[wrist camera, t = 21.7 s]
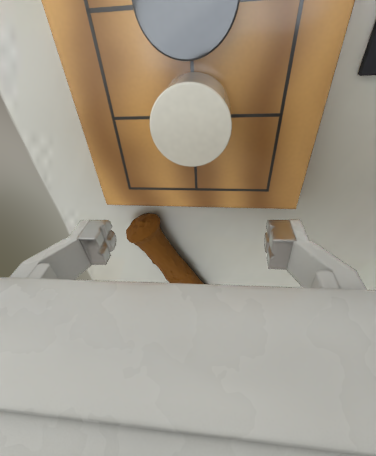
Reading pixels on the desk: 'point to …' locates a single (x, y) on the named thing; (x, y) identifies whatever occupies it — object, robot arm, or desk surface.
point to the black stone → (185, 25)
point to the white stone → (191, 120)
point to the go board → (225, 74)
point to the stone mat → (369, 56)
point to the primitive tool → (160, 249)
